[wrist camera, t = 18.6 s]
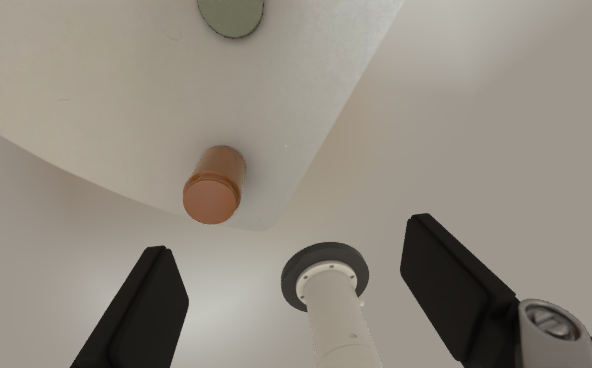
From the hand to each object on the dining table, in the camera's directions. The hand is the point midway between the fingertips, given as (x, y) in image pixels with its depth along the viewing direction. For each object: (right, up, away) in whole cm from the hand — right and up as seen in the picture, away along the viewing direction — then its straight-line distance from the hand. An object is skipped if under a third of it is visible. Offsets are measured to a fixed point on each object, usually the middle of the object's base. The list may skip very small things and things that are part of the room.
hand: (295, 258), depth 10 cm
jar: (-11, +6, +27) cm, 30 cm away
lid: (-7, +23, +17) cm, 29 cm away
